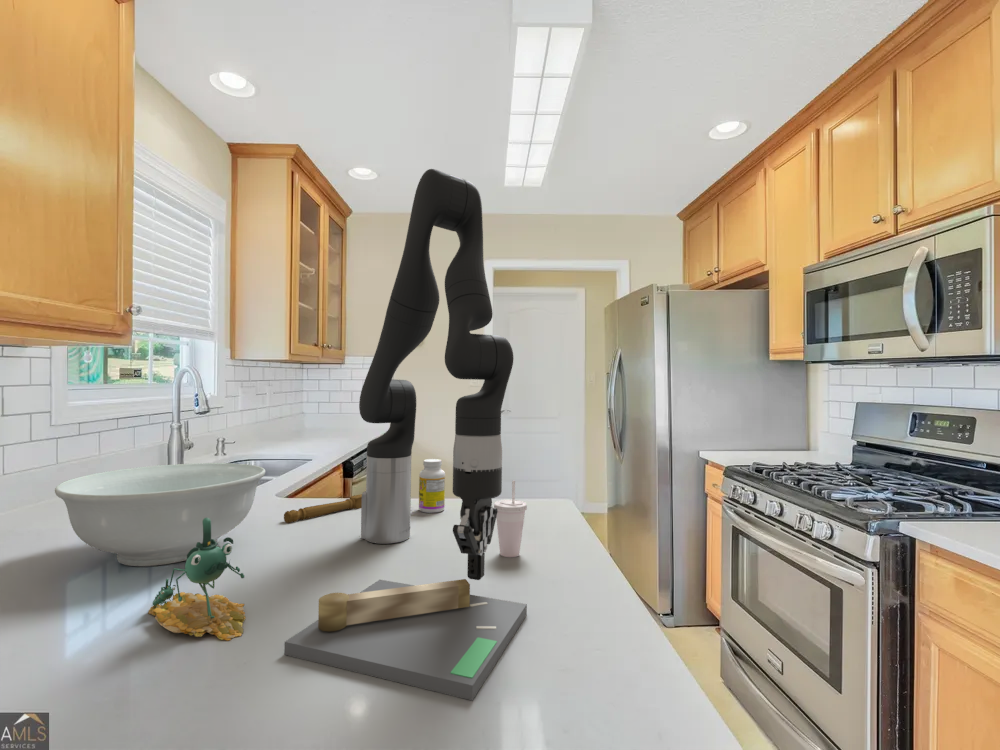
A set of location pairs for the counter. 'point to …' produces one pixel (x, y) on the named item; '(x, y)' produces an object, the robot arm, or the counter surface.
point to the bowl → (158, 508)
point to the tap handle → (323, 509)
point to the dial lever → (390, 603)
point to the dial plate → (419, 644)
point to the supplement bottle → (432, 487)
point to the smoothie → (510, 524)
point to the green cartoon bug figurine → (199, 609)
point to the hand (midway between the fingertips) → (475, 577)
